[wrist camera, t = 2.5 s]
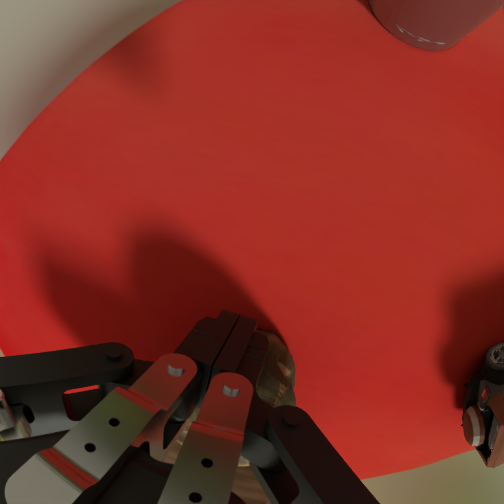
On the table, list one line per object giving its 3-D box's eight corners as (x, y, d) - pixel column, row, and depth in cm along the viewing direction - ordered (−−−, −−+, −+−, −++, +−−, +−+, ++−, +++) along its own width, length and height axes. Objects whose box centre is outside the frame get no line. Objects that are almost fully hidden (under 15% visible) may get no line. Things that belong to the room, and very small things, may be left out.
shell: (182, 352, 33) (129, 425, 22) (249, 298, 29) (203, 380, 18) (250, 411, 33) (221, 491, 22) (323, 370, 29) (314, 465, 18)
